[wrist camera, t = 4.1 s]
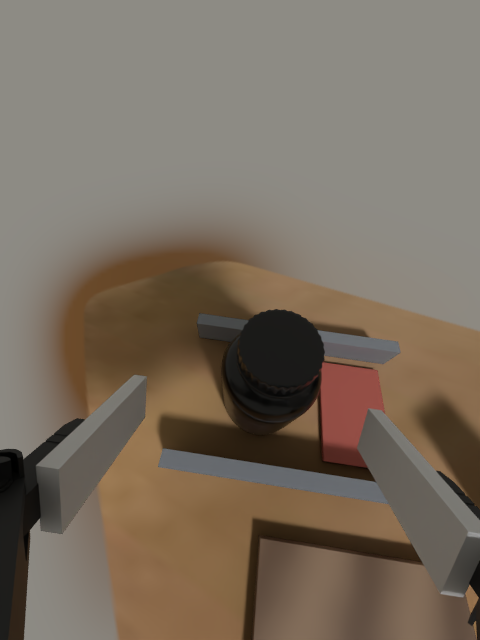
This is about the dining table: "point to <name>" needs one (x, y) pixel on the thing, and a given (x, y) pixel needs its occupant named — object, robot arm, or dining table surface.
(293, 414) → the supplement bottle
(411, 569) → the walnut pad
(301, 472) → the channel
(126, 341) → the dining table surface
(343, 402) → the pad
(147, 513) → the dining table surface
